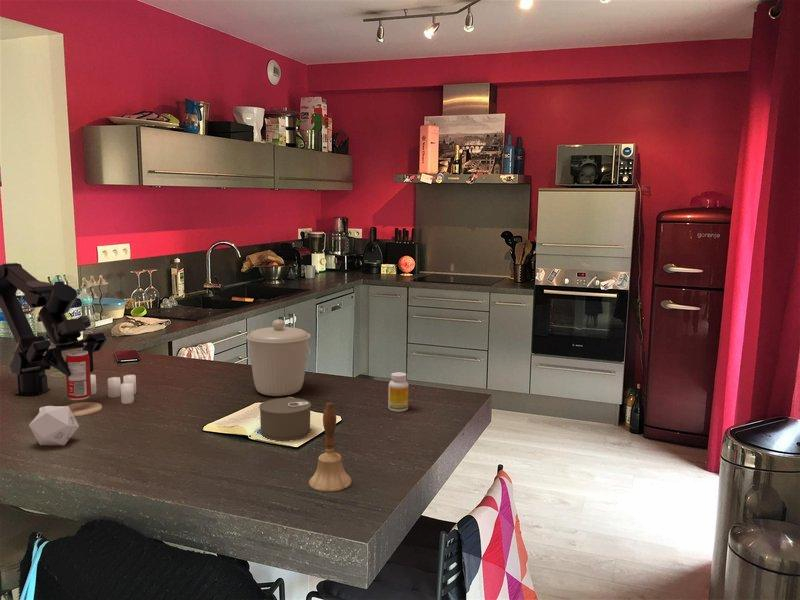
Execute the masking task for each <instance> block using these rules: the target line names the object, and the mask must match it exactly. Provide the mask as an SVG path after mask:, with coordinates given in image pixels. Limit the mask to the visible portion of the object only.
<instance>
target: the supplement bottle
mask: <svg viewBox="0 0 800 600" xmlns="http://www.w3.org/2000/svg"><path fill="white" fill-rule="evenodd" d="M390 376H391V377H390V381H389V383H388V388H387V389H388V393H387V395H388V396H387V397H388V401H387V404H388V405H387V408H388V410H389V411H392V412H398V413H399V412H405V411H408V409H409V388H410V387H409V386H410V385H409V382H408V381H407V373H405V372H400V371H398V372H397V371H396V372H392V373H391V374H390Z"/></svg>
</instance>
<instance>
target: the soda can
mask: <svg viewBox="0 0 800 600" xmlns="http://www.w3.org/2000/svg"><path fill="white" fill-rule="evenodd" d="M65 362H66V364H67V366H68V368H69V370H70V373H71V375H70V376H69V377H68V376H66V375H65V376H66V377H65V378H66V379H65V380H66V395H67V396H66V397H67V398H68V399H69V400H72V401H79V400H80V401H81V400H86V399H88V398H90V396H91V377H90V374H91V372H90V357H89V354H88V352H87V351H81V350H74V351H68V352H66V357H65Z"/></svg>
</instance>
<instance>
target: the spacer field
mask: <svg viewBox="0 0 800 600" xmlns="http://www.w3.org/2000/svg"><path fill="white" fill-rule="evenodd" d="M90 377H91V395H96V394H97V379H96V377H97V376H96V374H91V373H90ZM136 380H137V377H136V374H126V375H123V382H122V383H121V377H120V376H118V377H117V376H112V377H108V378H107V390H108V391H107V392H108V393H107V394H108V395H107V396H108V398H112V399H115V398H120V399H121V400H120V402H121V404H124V405H125V404H126V405H127V404H133V403H135V395H136V394H137V381H136ZM91 395H90V396H91ZM44 407H45V406H41V407H39V409H38V410H39V412H38V414H39V413H40V411H41V410H42V409H43V408H44Z"/></svg>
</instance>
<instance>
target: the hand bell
mask: <svg viewBox="0 0 800 600" xmlns="http://www.w3.org/2000/svg"><path fill="white" fill-rule="evenodd" d="M322 424H323V425H322V426H323V431H324V434H325V446H324V448H325V449H324V451H325V452H324V453H322V454H320V455H319V456H318V460H317V466H316V467H317V468H316V470H315V472H314V474H313V476H311V477H310V479H309V481H308V485H309V487H310V488H312V489H314V490H316V491H319V492H337V491H338V492H339V491H342V490H344V489H347V488H348V487H350V486H351V485H352V478H351V476H350V475H349V474H347V472H346V471H345V469H344V464H343V458H342V456H341V454H340V453H337V452H335V438H334V437H335V431H336V426H337V413H336V411H335V407H334V404H333V402H330V401H329V402H326V404H325V408H324V411H323V414H322Z"/></svg>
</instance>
